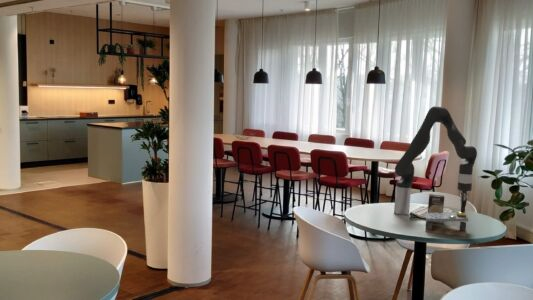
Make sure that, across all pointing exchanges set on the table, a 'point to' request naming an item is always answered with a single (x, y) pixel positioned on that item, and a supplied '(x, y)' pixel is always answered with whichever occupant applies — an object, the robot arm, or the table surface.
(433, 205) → the coffee box
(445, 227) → the walnut base
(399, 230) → the table surface
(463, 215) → the level plate
